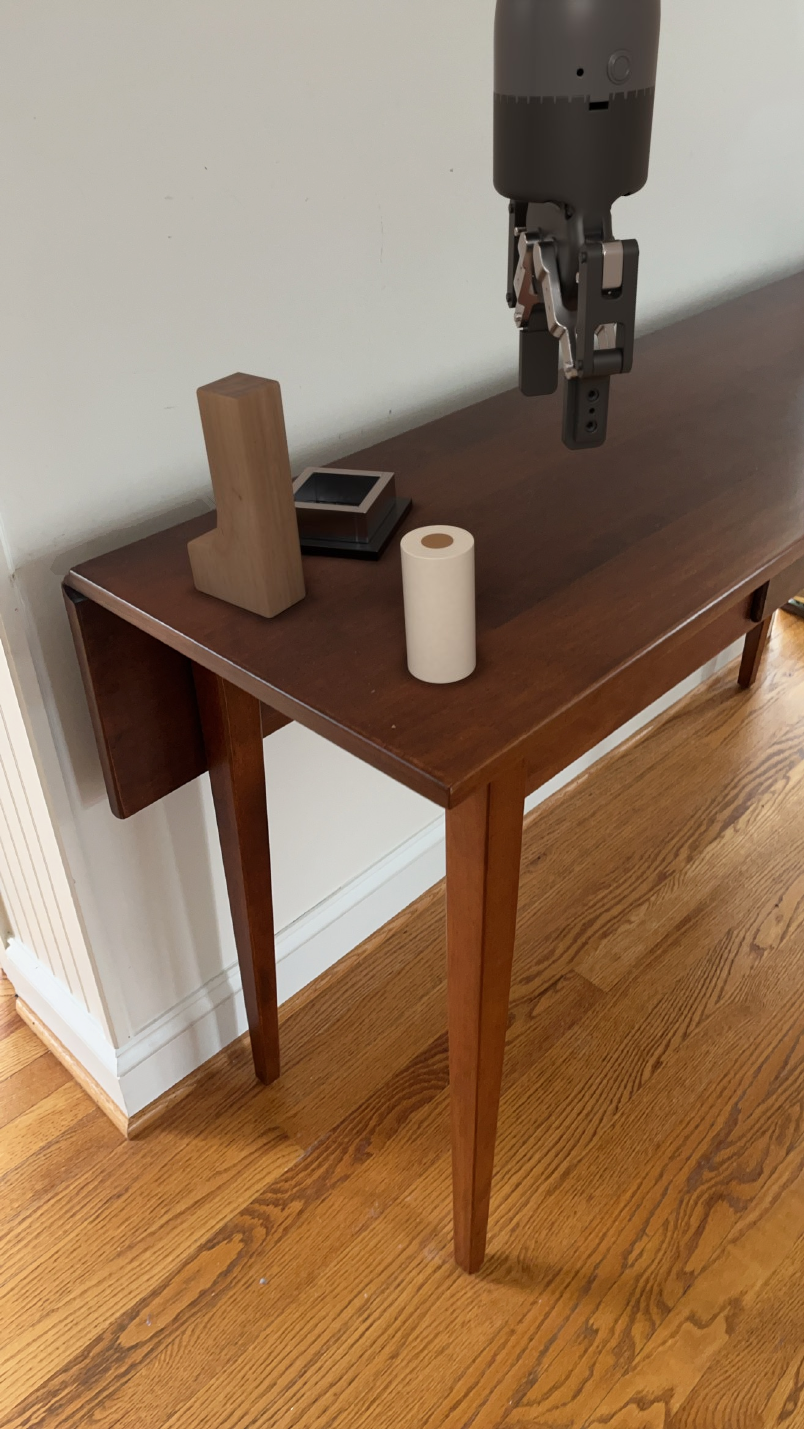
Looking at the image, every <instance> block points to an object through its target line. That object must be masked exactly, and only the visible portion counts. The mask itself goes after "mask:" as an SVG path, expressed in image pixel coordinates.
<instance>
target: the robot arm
mask: <svg viewBox="0 0 804 1429" xmlns="http://www.w3.org/2000/svg"><path fill="white" fill-rule="evenodd" d="M661 3H662V0H495V8H494V20H493V39H492V40H493V45H492V46H493V47H492V48H493V57H492V58H493V60H492V62H493V67H492V68H493V74H492V75H493V81H492V82H493V88H492V89H493V90H492V184H493V188H494V190H495V191H496V192H497V193H498V194H499V195H500V196H502V197H504V198H506V199H509V204H508V206H507V210H508V237H507V239H508V242H507V274H506V275H507V277H506V278H507V281H506V294H505V300H506V303H507V306H508V309H514V313H513V321H514V323H515V326H516V328H517V329H519V330H518V332H519V334H518V379H517V380H518V383H517V384H518V390H519V391H520V392H521V394H522V395H523V396H524V397H527V398H530V397H538V396H547V395H552V394H554V393H555V392H556V391H557V389H558V386H559V385H558V384H559V360H560V349H561V355H562V362H563V372H564V374H565V376H563V392H562V393H563V394H562V415H561V416H562V417H561V435H560V436H561V437H560V438H561V442H562V443H563V445H564V446H565V448H567V449H568V450H571V451H577V450H579V451H580V450H587V449H595V448H599V447H601V446H602V445H603V444H604V443H605V442H606V439H607V428H608V427H607V426H608V413H609V399H610V388H611V386H610V385H611V376H613V375H622V374H629V373H631V371H632V369H633V363H634V344H635V343H634V342H635V327H636V311H637V294H638V278H639V263H640V246H639V242H638V240H637V239H636V238H626V239H620V238H619V239H616V238H615V236H614V234H613V216H612V212H611V210H612V206H613V205H614V203H615V202H616V201H618V199H619V198H621V197H630V196H632V195H634V194H636V193H638V192H640V191H641V190H642V189H643V188H644V187H645V185H646V184H647V181H648V178H649V166H650V157H651V156H650V155H651V143H652V132H653V120H654V109H655V108H654V107H655V97H656V96H655V95H656V86H657V85H656V84H657V72H658V60H659V49H660V48H659V46H660V34H661V33H660V32H661V20H662V18H661V17H662V4H661ZM615 326H616V327H615ZM595 336H596V337H597V343H598V349H595Z"/></svg>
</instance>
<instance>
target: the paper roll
mask: <svg viewBox="0 0 804 1429" xmlns="http://www.w3.org/2000/svg"><path fill="white" fill-rule="evenodd" d="M400 558H401V559H400V561H401V575H402V577H401V578H402V594H403V608H404V609H403V612H404V622H405V623H404V625H405V626H404V627H405V641H406V657H407V659H406V660H407V669H408V671H409V673H410V674H411V675H412V676H413V677H415V678H416V679H418V680H420V681H423V682H426V683H431V684H450V683H454V682H458V681H462V680H463V679H465V678H467V677H468V676H470V675H471V674H472V673H473V672H474V671H475V668H476V665H477V650H476V649H477V644H476V643H477V642H476V582H475V581H476V578H475V577H476V575H475V574H476V573H475V571H476V570H475V569H476V568H475V538H474V536H473V534H471V533H470V532H469V531H467V530H466V529H464V528H461V527H457V526H453V525H446V524H445V525H444V524H443V525H442V524H440V525H439V524H436V525H435V524H434V525H428V526H422V527H418V528H415V529H412V530H411V531H409V532H407V533H406V534H405V535H404V536H403V537H402V538H401V540H400Z"/></svg>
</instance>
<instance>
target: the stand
mask: <svg viewBox="0 0 804 1429" xmlns="http://www.w3.org/2000/svg"><path fill="white" fill-rule="evenodd" d="M395 475H396V474H395V472H391V471H377V470H362V469H348V468H347V469H345V468H331V467H319V466H318V467H317V466H306V467H305V469H304V470H303V471H302V472H301V473H300V475H298V476H297V478H296V479H295V480H294V481H292V485H293V494H294V502H295V510H296V518H297V526H298V534H299V542H300V550H301V555H305V556H316V557H328V558H340V559H348V560H349V559H350V560H361V561H371V562H372V561H373V562H378V561H379V560H380V559H381V557H382V556H383V554H384V553H385V551H386V550H387V548H388V546H389V545H390V543H391V542H392V540H393V539H394V537H395V535H397V532H398V531H399V530H400V528H401V526H402V525H403V524H404V522H405V521H406V519H407V517H408V515H409V514H410V513H411V511H412V509H413V498H411V497H401V496H400V497H399V496H397V493H396V491H397V490H396V477H395Z"/></svg>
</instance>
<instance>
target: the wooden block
mask: <svg viewBox="0 0 804 1429" xmlns="http://www.w3.org/2000/svg"><path fill="white" fill-rule="evenodd" d="M195 394H196V397H197V398H196V399H197V406H198V410H199V416H200V417H199V418H200V421H201V430H202V434H203V440H204V445H205V452H206V456H207V463H208V468H209V475H210V481H211V486H212V493H213V497H214V498H213V499H214V504H215V509H216V517H217V518H216V527H215V528H213V529H211V530H210V531H208V532H206V533H204V534H202V535H199V536H198V537H196V538H194V539H192V540H190V541H188V542H187V544H186V545H187V546H186V547H187V552H188V557H189V562H190V567H191V573H192V577H193V583H194V587H195V588H196V590H197V591H199V592H201V593H204V594H207V595H209V596H211V597H214V598H217V599H219V600H222V601H224V602H226V603H229V604H231V605H234V606H237V607H239V608H241V609H244V610H246V611H248V612H251V613H254V614H257V615H259V616H262V617H264V618H266V619H271V618H274V617H275V616H277V615H279V614H280V613H282V612H283V611H284V612H285V610H287V609H288V608H290V607H292V606H293V605H295V604H296V603H298V602H300V601H302V600H303V599H304V598H305V597H306V594H307V592H306V583H305V576H304V575H305V574H304V567H303V560H302V558H303V557H302V554H301V550H300V542H299V534H298V526H297V518H296V510H295V502H294V494H293V485H292V484H293V478H292V471H291V462H290V454H289V446H288V438H287V437H288V436H287V429H286V422H285V414H284V405H283V398H282V390H281V384H280V382H279V381H278V380H277V379H271V378H267V377H262V376H259V375H254V374H249V373H246V372H241V371H236V372H235V373H232V374H229V375H227V376H225V377H224V376H223V377H222V378H219V379H217V380H214V381H212V382H209V383H206V384H203V385H201V386H199V387H198V388H197V389H196V391H195Z"/></svg>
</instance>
